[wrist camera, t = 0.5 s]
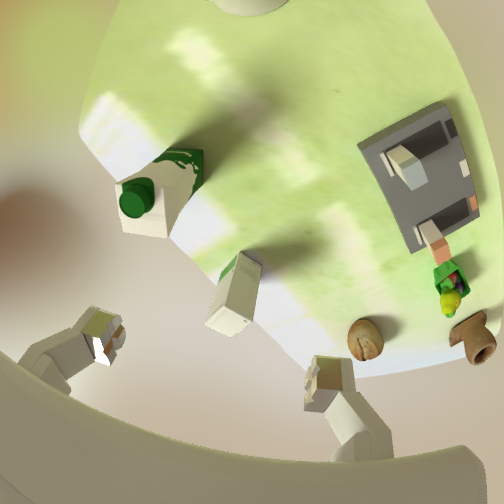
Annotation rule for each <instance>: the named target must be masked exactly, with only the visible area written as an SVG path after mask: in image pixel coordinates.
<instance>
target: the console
mask: <svg viewBox="0 0 504 504" xmlns="http://www.w3.org/2000/svg"><path fill="white" fill-rule="evenodd" d="M399 145H402V146H403V147H404V148H405V149H407V150H408V151H409V152H410V153H412V154H413V155H414V156H415V157H417V158H418V159H419V160H420V162H421V164H422V166H423V169H424V171H425V174H426V176H427V179H428V182H427V183H425V184H424V185H422V186H420V187H418V188H416V189H414V190H413V191H412V190H411V189H410V188H409V187H408V186H407V184H406V183H405V182H404V181H403V180H402V179H401V177H400V176H399V175H398V174H397V173H396V172H395V170H394V168H393V166H392V164H391V162H390V160H389V158H388V156H387V154H386V153H387V152H388V151H390V150H392V149H394V148H396V147H398V146H399ZM357 146H358V148H359V150H360V151H361V153H362V155H363V157H364V158H365V160H366V162H367V164H368V165H369V167H370V169H371V171H372V173H373V175H374V177H375V178H376V180H377V182H378V184H379V186H380V188H381V190H382V192H383V194H384V196H385V198H386V200H387V202H388V205H389V207H390V209H391V211H392V213H393V215H394V217H395V220H396V222H397V224H398V226H399V229H400V231H401V233H402V236H403V238H404V241H405V243H406V245H407V247H408V249H409V251H410V253H411V254H413V253H415V252H417V251H419V250H421V249H423V248H424V247H426V246H427V245H426V244H425V242H424V240H423V238H422V235H421V232H420V229H419V227H418V226H419V225H421V224H423V223H425V222H427V221H429V220H432V221H433V223H434V224H435V225H436V227H437V228H438V230H439V231H440V232H441V234H442V235H443V237H445V236H447V235H448V234H450V233H452V232H454V231H456V230H457V229H459V228H461V227H463V226H464V225H466V224H468V223H470V222H471V221H473V220H475V219H476V218H478V217H480V214H479V208H478V203H477V199H476V194H475V190H474V186H473V181H472V178H471V174H470V170H469V167H468V163H467V160H466V157H465V153H464V150H463V147H462V144H461V141H460V138H459V135H458V133H457V130H456V127H455V125H454V122H453V120H452V117H451V115H450V112H449V110H448V107H447V105H444V104H441V103H438V102H435V103H433V104H431V105H429V106H427V107H425V108H423V109H421V110H420V111H418V112H416V113H414V114H412V115H410V116H408V117H406V118H404V119H402V120H400V121H399V122H397V123H395V124H393V125H391V126H389V127H387V128H386V129H384V130H382V131H380V132H378V133H376V134H375V135H373V136H371V137H369V138H367V139H366V140H364V141H362V142H360V143H358V144H357Z"/></svg>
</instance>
